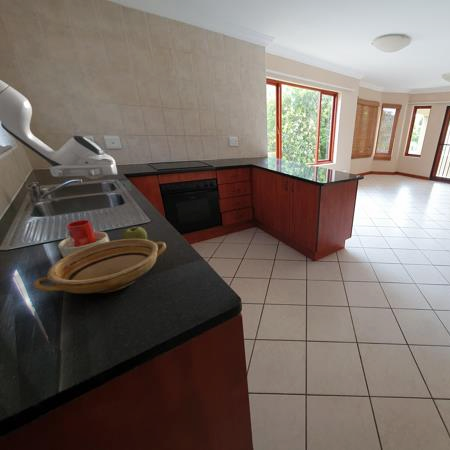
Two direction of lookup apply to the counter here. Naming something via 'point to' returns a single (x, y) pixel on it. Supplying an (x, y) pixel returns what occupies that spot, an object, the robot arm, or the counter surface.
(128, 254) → the wicker basket
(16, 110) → the robot arm
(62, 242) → the serving bowl
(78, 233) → the fries cup
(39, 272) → the counter surface
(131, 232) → the apple
